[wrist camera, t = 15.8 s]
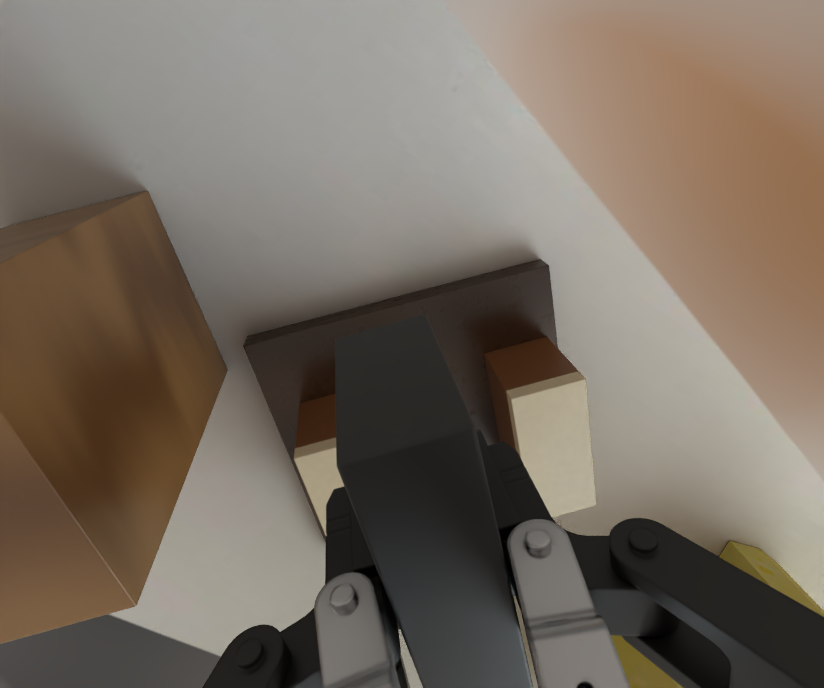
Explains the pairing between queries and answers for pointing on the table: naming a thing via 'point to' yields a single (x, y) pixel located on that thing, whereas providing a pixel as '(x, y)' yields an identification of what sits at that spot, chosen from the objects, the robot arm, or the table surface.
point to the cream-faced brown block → (318, 452)
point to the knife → (426, 506)
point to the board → (443, 305)
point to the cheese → (646, 677)
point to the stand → (93, 408)
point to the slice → (545, 421)
